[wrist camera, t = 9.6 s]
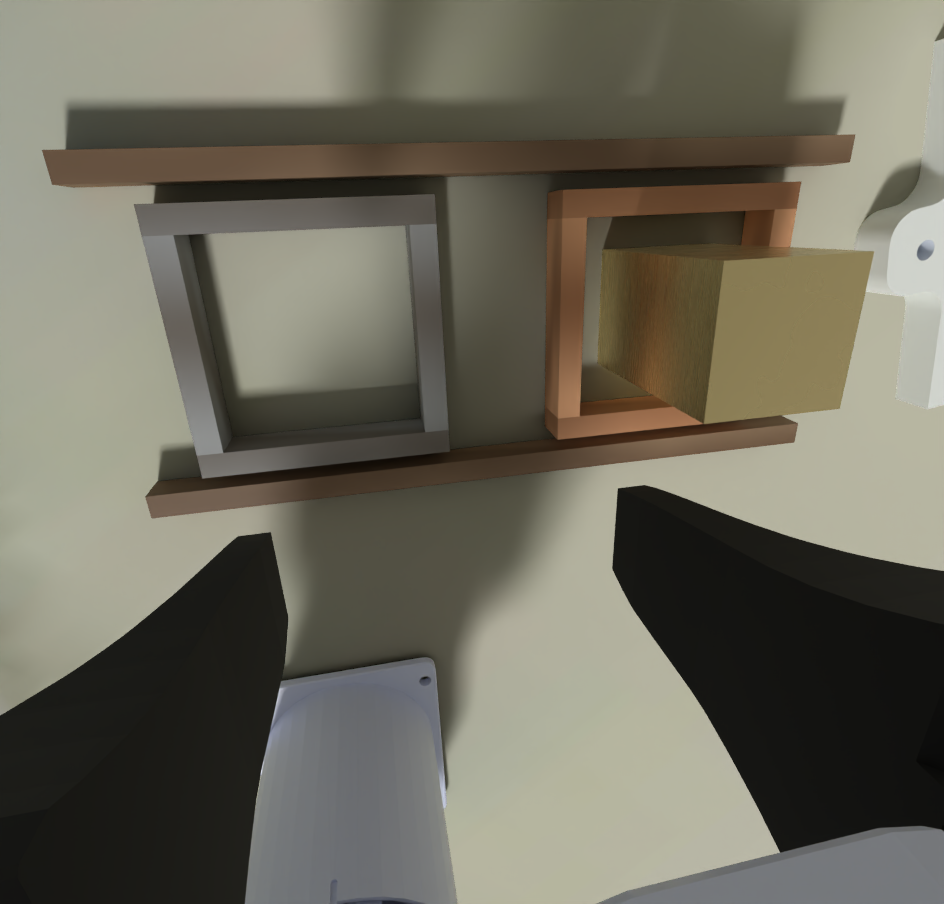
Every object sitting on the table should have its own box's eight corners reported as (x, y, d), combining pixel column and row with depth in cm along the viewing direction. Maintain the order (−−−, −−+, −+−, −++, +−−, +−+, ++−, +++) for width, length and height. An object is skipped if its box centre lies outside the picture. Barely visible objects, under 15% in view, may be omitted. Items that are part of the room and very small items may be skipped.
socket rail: (773, 432, 23) (799, 444, 22) (163, 502, 19) (148, 522, 18) (827, 139, 19) (863, 133, 18) (64, 155, 15) (35, 148, 14)
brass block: (695, 354, 21) (839, 408, 15) (597, 363, 21) (703, 424, 14) (708, 243, 20) (874, 251, 13) (602, 249, 19) (724, 260, 13)
